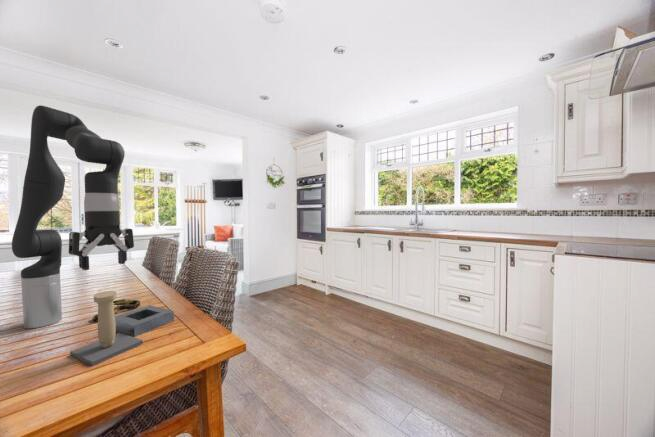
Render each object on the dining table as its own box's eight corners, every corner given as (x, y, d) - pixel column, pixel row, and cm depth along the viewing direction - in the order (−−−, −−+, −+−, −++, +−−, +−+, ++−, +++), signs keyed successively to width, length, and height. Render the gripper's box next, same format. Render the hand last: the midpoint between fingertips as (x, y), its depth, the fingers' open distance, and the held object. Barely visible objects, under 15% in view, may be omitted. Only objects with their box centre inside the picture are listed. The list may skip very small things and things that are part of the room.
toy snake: (98, 309, 92) (80, 308, 95) (98, 322, 92) (81, 321, 95) (147, 295, 109) (131, 294, 112) (148, 306, 108) (132, 305, 112)
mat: (70, 355, 71) (70, 351, 71) (120, 335, 82) (119, 332, 82) (92, 365, 66) (92, 361, 66) (142, 343, 77) (142, 340, 77)
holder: (110, 328, 87) (109, 318, 87) (150, 314, 99) (149, 305, 99) (134, 336, 81) (134, 325, 81) (174, 320, 93) (173, 310, 93)
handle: (97, 353, 70) (95, 299, 69) (95, 344, 75) (92, 293, 74) (120, 346, 74) (117, 294, 73) (116, 338, 78) (114, 289, 77)
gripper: (123, 209, 81) (125, 261, 81) (62, 209, 68) (64, 270, 68) (137, 209, 78) (139, 263, 78) (76, 209, 65) (78, 273, 65)
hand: (104, 266), depth 73 cm, fingers open, 8 cm apart
